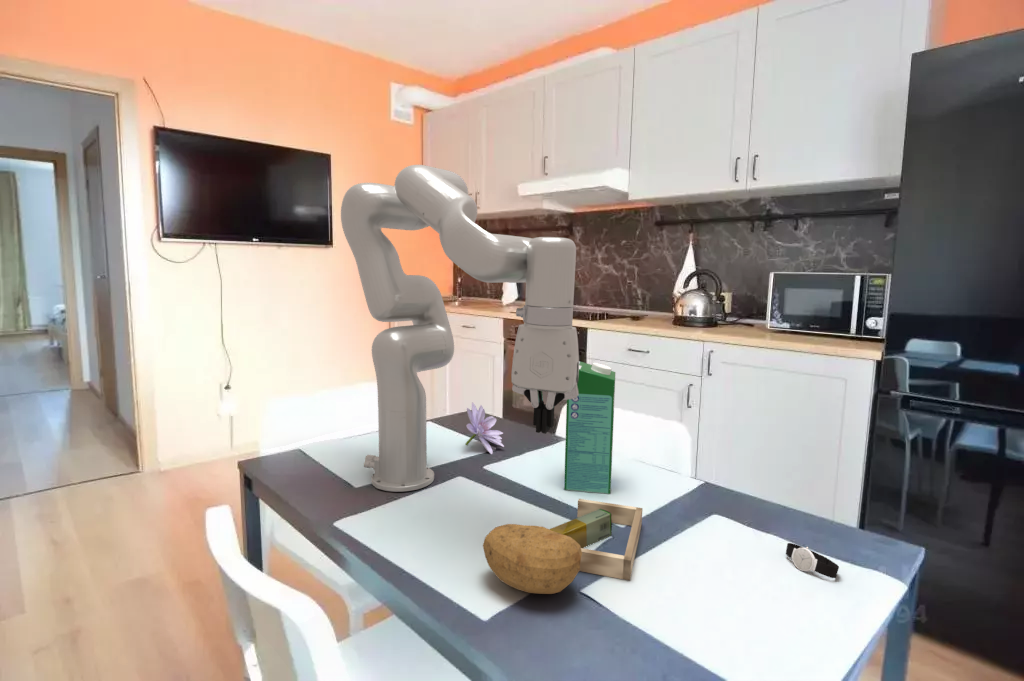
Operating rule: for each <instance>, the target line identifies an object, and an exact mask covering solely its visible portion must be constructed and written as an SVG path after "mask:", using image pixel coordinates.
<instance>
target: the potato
mask: <svg viewBox="0 0 1024 681" xmlns="http://www.w3.org/2000/svg"><path fill="white" fill-rule="evenodd" d="M549 529H550V528H547V527H545V526H540V525H530V524H529V525H524V524H517V523H507V524H503V525H499V526H495V527H494V528H493V529H492V530H490V531H489V533H488V534H487V535H486V536H485V537H484V540H483V543H482V548H483V553H484V557H485V559H486V562H487V565H488V567H489V568H490V570H491V571H492V572H493V574H495V576H496V577H497V578H498V579H499V580H500V581H501V582H502V583H504V584H506V585H508V586H509V587H511V588H514V589H515V590H518V591H521V592H525V593H529V594H540V595H541V594H542V595H552V594H556V593H561V592H562V591H563V590H564V589H566V588H567V587H568V586H569V585H570V584H571V583H573V581H574V579H575V578H576V577H577V575H578V574H579V572H580V571H579V570H580V561H581V557H582V550H581V547H580V545H579V544H578V543H577V542H576V541H575V540H574V539H572V538H571V537H569V536H566V535H563V534H560V533H557V532H554V531H551V530H549Z"/></svg>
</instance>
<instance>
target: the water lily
mask: <svg viewBox="0 0 1024 681" xmlns="http://www.w3.org/2000/svg"><path fill="white" fill-rule="evenodd" d="M466 412H467V416H468V420H469V421H470V423H467V424H466V428H467V430H468V431H469V432H470V433H471V434H473V435H472V436H470V437H469V439H468V440H467V441H466V442H465V446H468V445H469V444H470V443H471V442H472V441H473V439H474V438H476V436H477V435H478V439H479V441H480V443H481V445H482V446H483V448H484V449H485V450H486V451H487V452H488V453H489V454H490V455H493V454H494V452H493V449H492V446H491V445H490V443H489V442H491V443H492V444H494V445H497V446H499V447H503V448H504V447H505V445H504V444H503V443H502V439H503V438H502V437H501V436H500V435H503V434H504V432H502V431H501V430H497V429H492V427H494V426H495V424H496V423H497V418H496V417H494V416H492V415H490V416H487V417H486V411H485V408H484V407H483V405H482V404H480V406H479V407H478V408H477V406H476V405H475V403H474V402H471V409H470V408H469V407H466ZM491 429H492V430H491Z"/></svg>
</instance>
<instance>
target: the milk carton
mask: <svg viewBox="0 0 1024 681" xmlns="http://www.w3.org/2000/svg"><path fill="white" fill-rule="evenodd" d="M612 369H613V368H612V367H610V366H608V365H606V364H601V363H599V362H593V363H592V364H590V363H586V362H583V361H580V360H579V379H578V384H577V387H578V392H579V395H578V397H577V398H575V399H568V400H566V410H565V411H566V412H565V413H566V416H565V444H564V445H565V449H564V452H565V453H564V487H563V489H565V490H566V491H575V492H584V491H585V493H597V494H607V495H611V491H612V490H611V489H612V474H613V473H612V472H613V471H612V470H613V468H612V466H613V443H614V419H615V394H616V371H614V370H612ZM565 490H564V491H565Z"/></svg>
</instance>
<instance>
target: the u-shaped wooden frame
mask: <svg viewBox="0 0 1024 681" xmlns="http://www.w3.org/2000/svg"><path fill="white" fill-rule="evenodd" d="M598 509H603V510H606V511H608V512H610V513H612V516H611V520H612V524H618V525H625V526H631V528H630V532H629V536H628V540H627V544H626V548H625V553H624V555H622V554H617V553H611V552H606V551H601V550H600V551H599V550H594V549H590V548H581V550H582V557H581V561H580V570H579V572H583V573H588V574H594V575H599V576H604V577H609V578H614V579H620V580H625V581H629V582H630V581H631V577H632V572H633V567H634V563H635V559H636V553H637V549H638V544H639V540H640V534H641V531H642V524H643V507H639V506H638V507H637V506H631V505H624V504H617V503H610V502H603V501H597V500H590V499H586V498H585V499H584V498H578V500H577V515H576V518H578V517H581V516H583V515H586V514H588V513H591V512H593V511H596V510H598Z"/></svg>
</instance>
